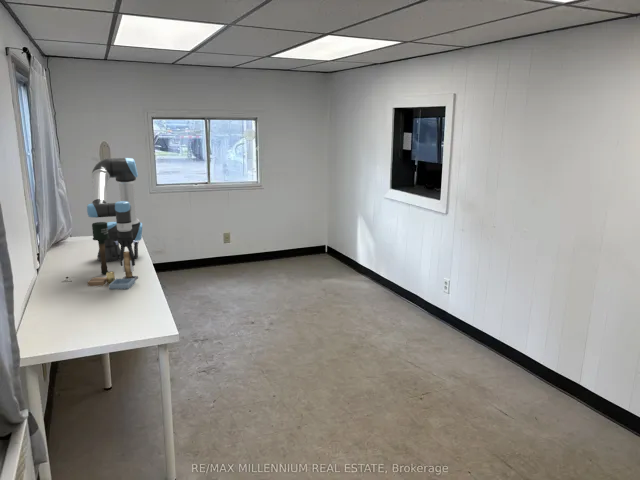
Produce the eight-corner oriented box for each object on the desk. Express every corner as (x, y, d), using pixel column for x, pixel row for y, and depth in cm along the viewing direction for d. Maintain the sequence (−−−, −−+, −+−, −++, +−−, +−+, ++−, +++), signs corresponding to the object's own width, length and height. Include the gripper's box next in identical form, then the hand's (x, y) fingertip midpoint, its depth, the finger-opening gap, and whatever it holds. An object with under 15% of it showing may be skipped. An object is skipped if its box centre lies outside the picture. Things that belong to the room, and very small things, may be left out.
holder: (125, 278, 268) (125, 276, 268) (138, 278, 268) (137, 276, 268) (120, 282, 261) (120, 280, 261) (133, 282, 261) (133, 280, 261)
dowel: (127, 275, 266) (124, 251, 263) (133, 275, 266) (131, 251, 263) (124, 277, 263) (122, 253, 260) (131, 277, 263) (128, 253, 260)
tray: (116, 282, 260) (116, 278, 259) (135, 282, 260) (134, 278, 259) (109, 289, 250) (108, 284, 249) (128, 289, 250) (128, 284, 250)
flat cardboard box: (93, 281, 263) (93, 277, 262) (108, 281, 264) (108, 277, 263) (88, 286, 255) (87, 282, 255) (103, 286, 256) (102, 281, 255)
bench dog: (109, 281, 262) (107, 271, 260) (116, 281, 262) (115, 271, 260) (106, 284, 258) (104, 273, 256) (113, 284, 258) (112, 273, 256)
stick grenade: (106, 276, 270) (101, 225, 263) (93, 275, 272) (87, 224, 265) (116, 272, 278) (111, 222, 271) (102, 271, 280) (97, 221, 273)
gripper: (106, 231, 254) (110, 273, 260) (137, 231, 255) (141, 273, 260) (112, 228, 262) (116, 269, 267) (142, 228, 262) (145, 269, 268)
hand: (128, 271), depth 264 cm, fingers closed on dowel, 3 cm apart
